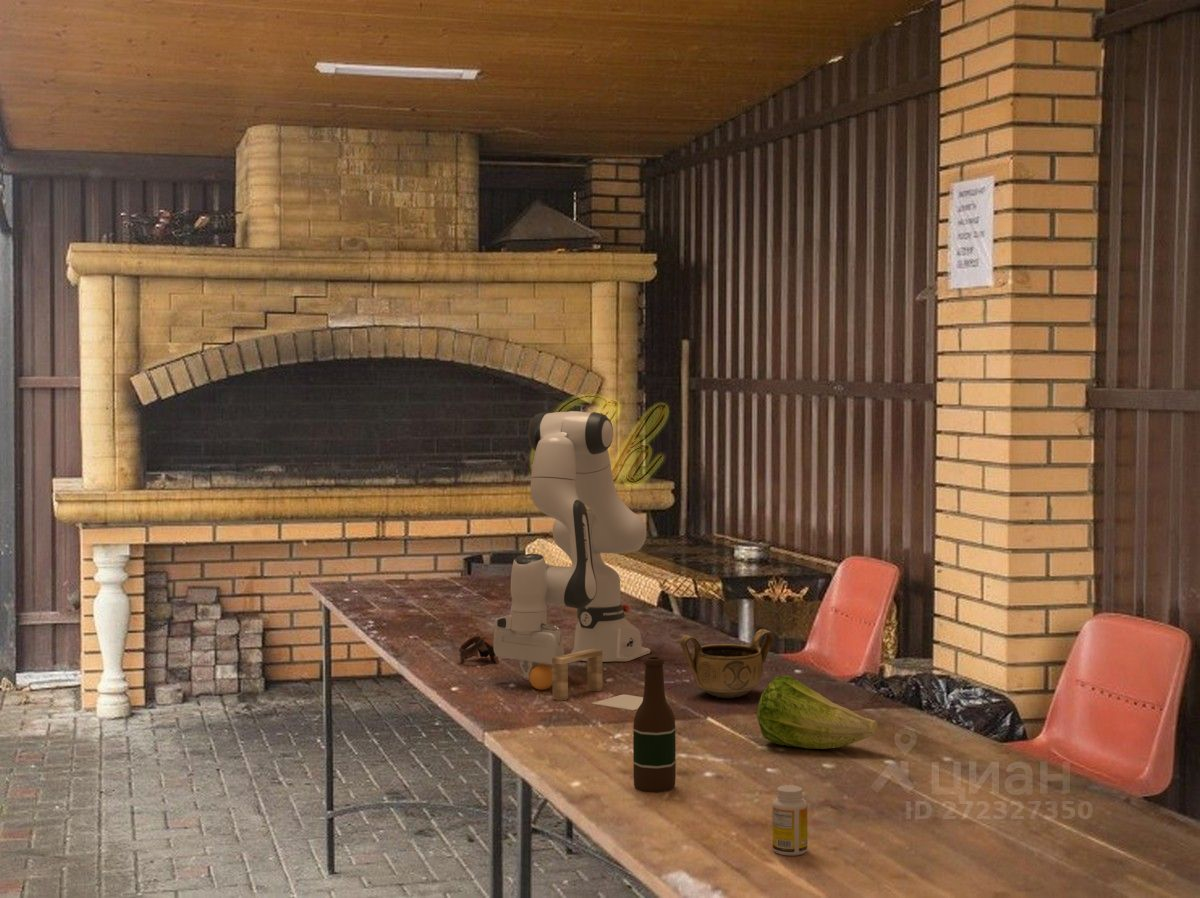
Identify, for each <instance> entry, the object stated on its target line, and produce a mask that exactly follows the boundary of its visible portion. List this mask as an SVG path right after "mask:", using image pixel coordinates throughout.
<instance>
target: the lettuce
mask: <svg viewBox="0 0 1200 898" xmlns="http://www.w3.org/2000/svg"><path fill="white" fill-rule="evenodd" d="M756 711H757V713H756V716H757V721H758V725H759V728H760V732H761V734H762V737H763V738H764V739H766V740H768V741H770V742H772V743H774V744H776V745H779V746H784V745H786V746H787V747H793V746H794V748H804V749H815V750H816V749H817V750H818V749H819V750H826V749H838V748H840V747H841V748H842V747H845V746H849V745H852V744H854V743H857V742H859V741H860V742H861V741H863V740H865V739H868V738H870V737H871V736H874V735H875V734H876V733H877V730H878V722H877V720H875V719H871V718H866V717H863V716H861V715H859V714H857V713H856V712H854V711H852V710H851V709H849V708H846V707H844V706H841V705H839V704H837V703H835V702H833V701H831V700H829V699H828V698H826V697H825V696H823V695H822V694H820V693H819V692H817V691H815V690H813V689H812V688H810V687H809V686H807V685H805V684H804V683H803V682H800V681H799V680H798V679H796V678H794V677H793V676H791V675H775V677H774V678H773V679H772V680H771V681H770V682H769V683H768V685H767V686H766V687H765V688H764V690H763V692H762V693H761V694H760V698H759V701H758V706H757V710H756ZM786 746H785V747H786Z"/></svg>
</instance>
